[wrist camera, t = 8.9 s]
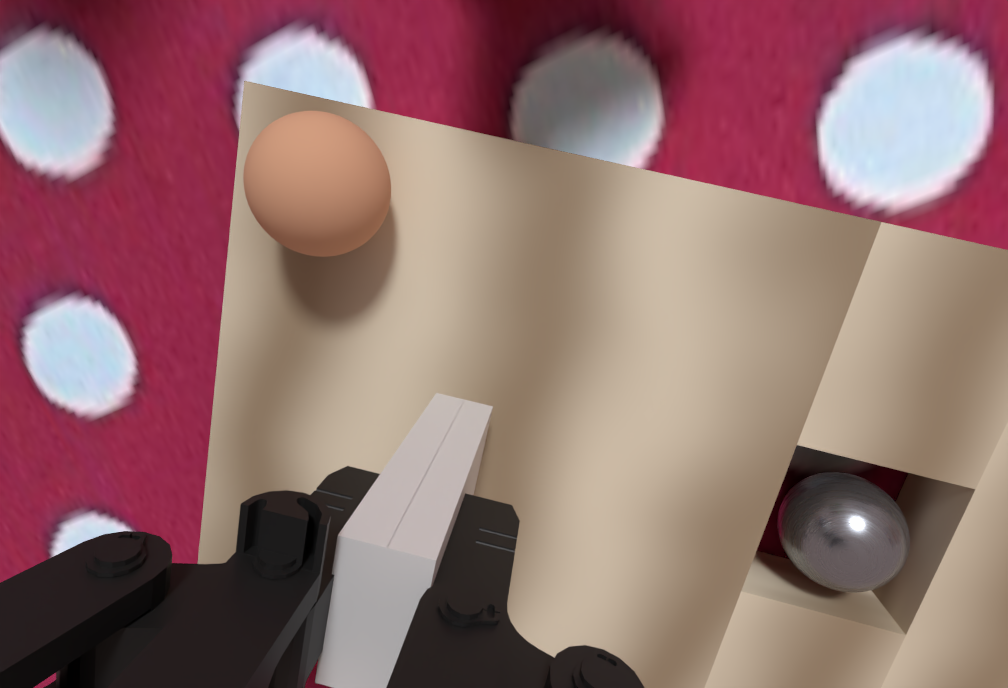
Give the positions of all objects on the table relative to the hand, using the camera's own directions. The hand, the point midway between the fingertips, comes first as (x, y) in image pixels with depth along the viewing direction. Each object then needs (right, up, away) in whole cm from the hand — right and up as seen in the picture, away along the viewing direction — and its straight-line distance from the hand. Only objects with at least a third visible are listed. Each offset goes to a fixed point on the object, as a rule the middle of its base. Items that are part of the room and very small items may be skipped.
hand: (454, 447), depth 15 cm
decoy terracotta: (-3, +6, -2) cm, 7 cm away
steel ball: (+11, -3, +1) cm, 11 cm away
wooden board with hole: (+5, -1, +3) cm, 6 cm away
